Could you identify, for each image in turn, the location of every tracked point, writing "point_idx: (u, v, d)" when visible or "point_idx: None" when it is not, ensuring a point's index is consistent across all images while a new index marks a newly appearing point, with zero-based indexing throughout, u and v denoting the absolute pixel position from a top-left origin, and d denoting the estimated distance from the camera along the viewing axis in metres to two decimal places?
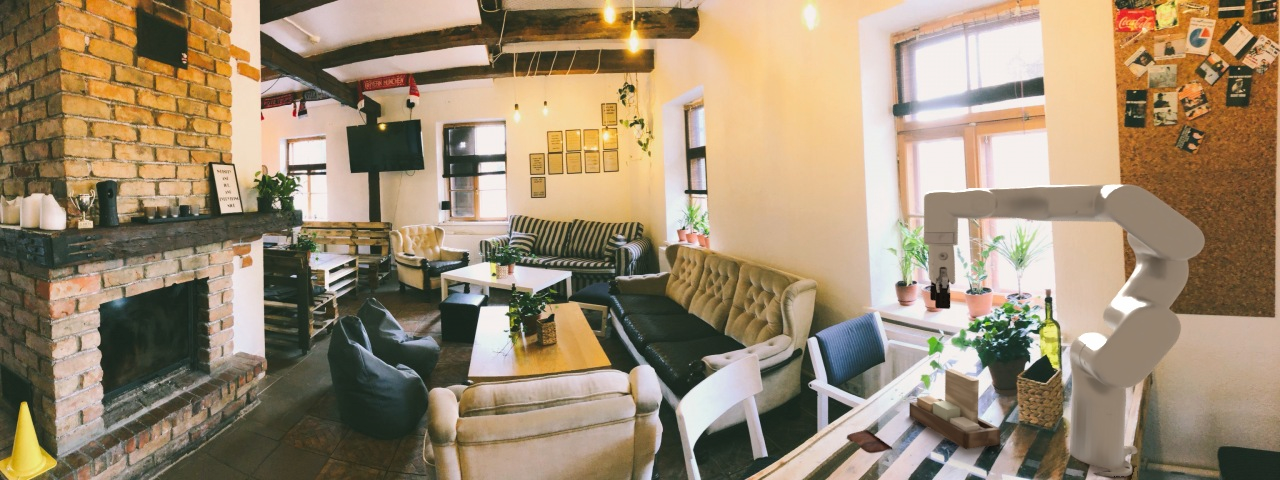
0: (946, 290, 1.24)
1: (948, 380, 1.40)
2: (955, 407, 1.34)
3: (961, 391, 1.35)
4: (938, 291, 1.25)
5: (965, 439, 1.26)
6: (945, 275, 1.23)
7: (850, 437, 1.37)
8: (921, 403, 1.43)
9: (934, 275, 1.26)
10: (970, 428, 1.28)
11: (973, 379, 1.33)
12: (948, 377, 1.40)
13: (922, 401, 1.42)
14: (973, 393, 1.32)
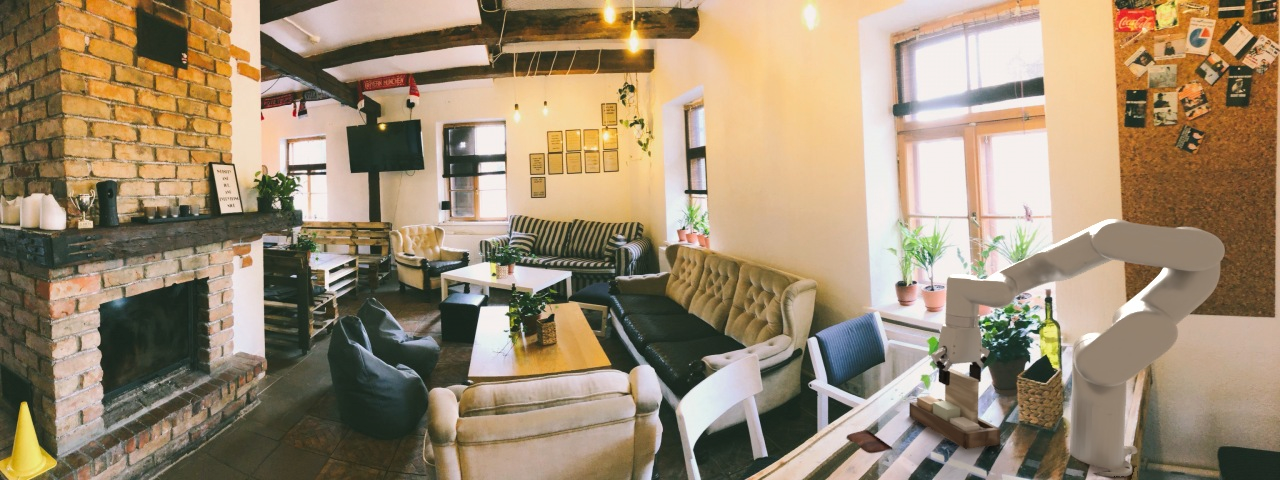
0: None
1: None
2: (955, 407, 1.34)
3: (961, 391, 1.35)
4: None
5: (965, 439, 1.26)
6: (984, 348, 1.37)
7: (850, 437, 1.37)
8: (921, 403, 1.43)
9: (981, 353, 1.35)
10: (970, 428, 1.28)
11: (973, 379, 1.33)
12: None
13: (922, 401, 1.42)
14: (973, 393, 1.32)
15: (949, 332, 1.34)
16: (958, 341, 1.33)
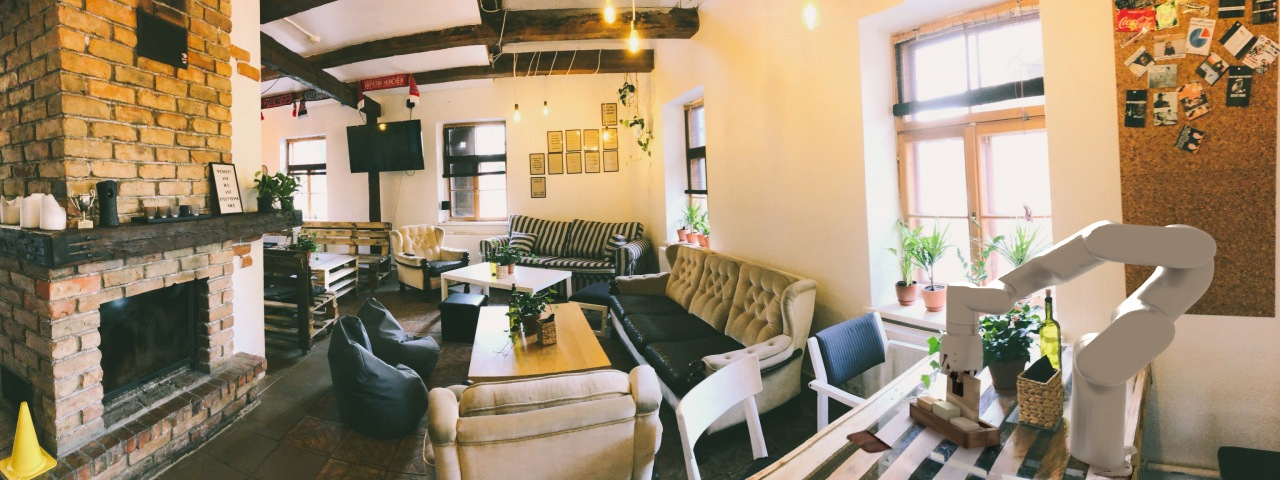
0: None
1: (950, 379, 1.39)
2: (955, 407, 1.34)
3: (963, 390, 1.35)
4: None
5: (965, 439, 1.26)
6: None
7: (850, 437, 1.37)
8: (921, 403, 1.43)
9: (982, 360, 1.35)
10: (970, 428, 1.28)
11: (975, 379, 1.32)
12: None
13: (922, 401, 1.42)
14: (975, 393, 1.32)
15: (950, 340, 1.34)
16: (959, 349, 1.33)
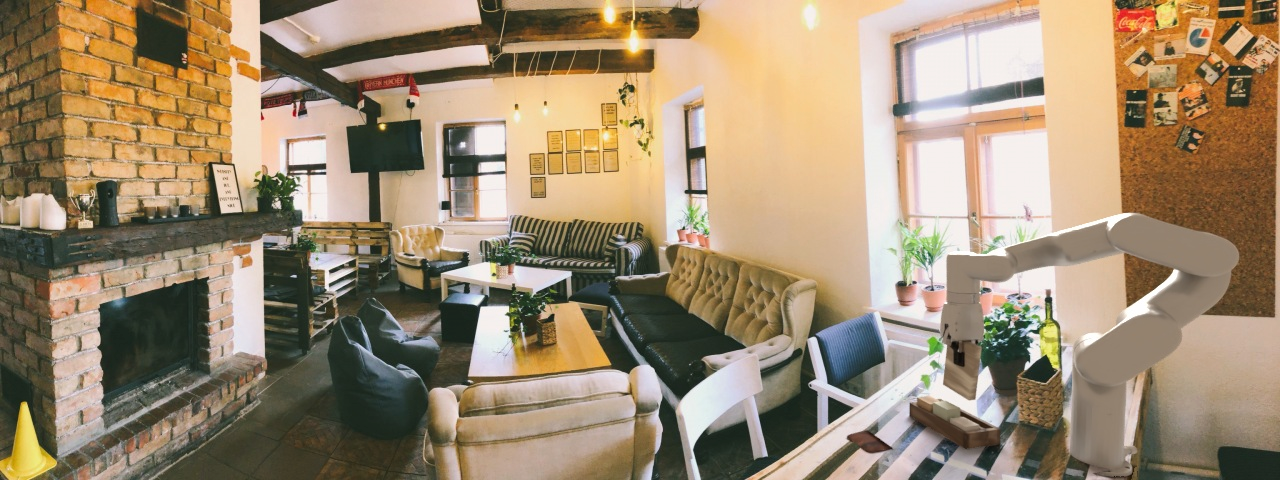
0: None
1: None
2: (955, 407, 1.34)
3: None
4: None
5: (965, 439, 1.26)
6: None
7: (850, 437, 1.37)
8: (921, 403, 1.43)
9: None
10: (970, 428, 1.28)
11: (976, 346, 1.31)
12: None
13: (922, 401, 1.42)
14: (975, 360, 1.31)
15: (950, 309, 1.33)
16: (960, 318, 1.32)
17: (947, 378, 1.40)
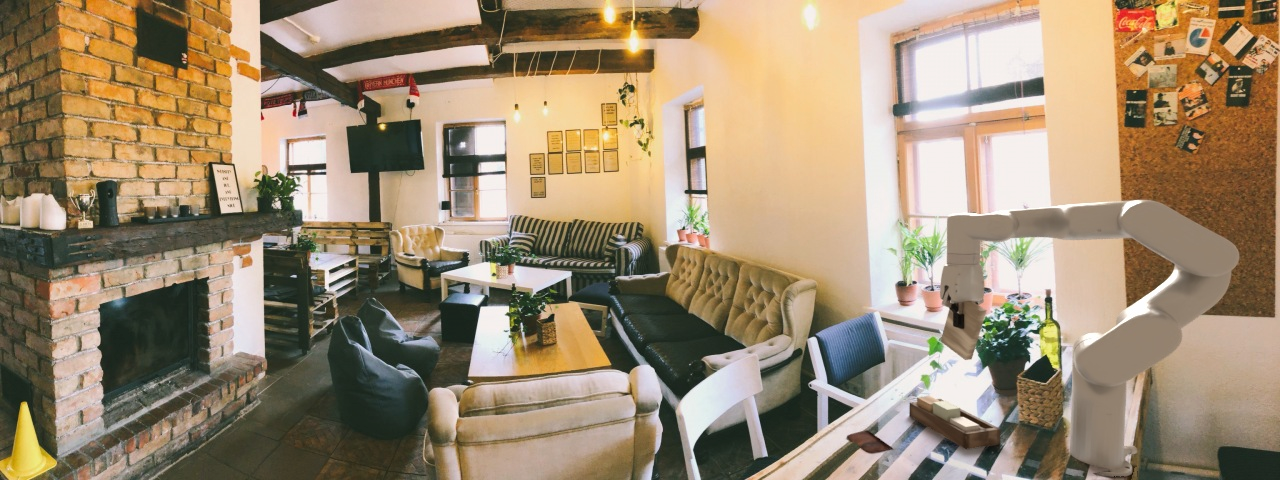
0: None
1: None
2: (955, 407, 1.34)
3: (965, 318, 1.33)
4: None
5: (965, 439, 1.26)
6: None
7: (850, 437, 1.37)
8: (921, 403, 1.43)
9: None
10: (970, 428, 1.28)
11: (981, 309, 1.29)
12: None
13: (922, 401, 1.42)
14: (978, 322, 1.29)
15: (951, 271, 1.32)
16: (960, 279, 1.31)
17: (946, 336, 1.40)
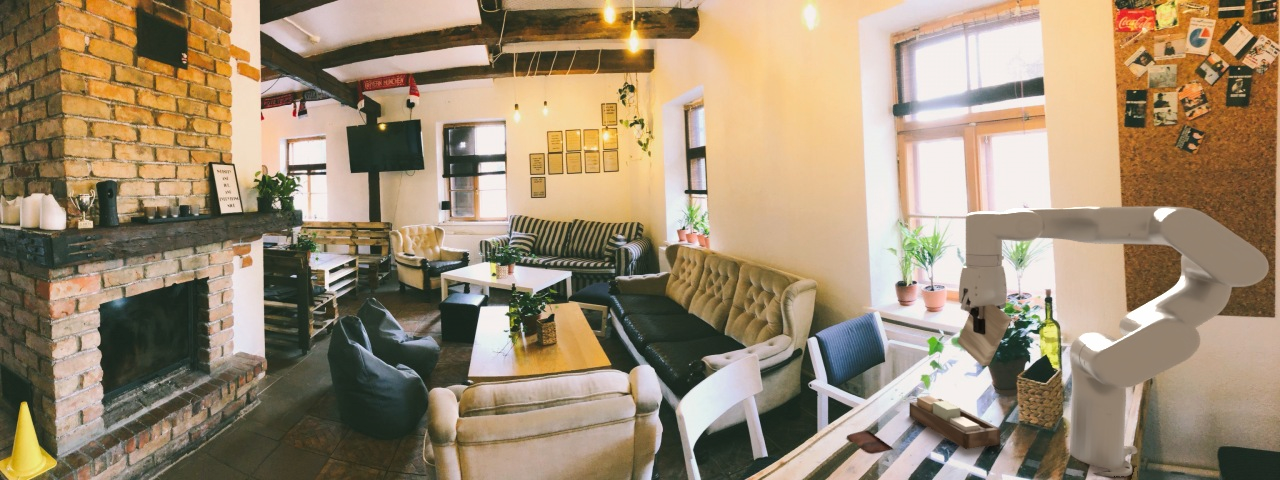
0: None
1: None
2: (955, 407, 1.34)
3: (987, 323, 1.25)
4: None
5: (965, 439, 1.26)
6: None
7: (850, 437, 1.37)
8: (921, 403, 1.43)
9: (1006, 295, 1.25)
10: (970, 428, 1.28)
11: (1006, 316, 1.21)
12: None
13: (922, 401, 1.42)
14: (1000, 330, 1.22)
15: (970, 273, 1.24)
16: (980, 282, 1.24)
17: (964, 338, 1.32)
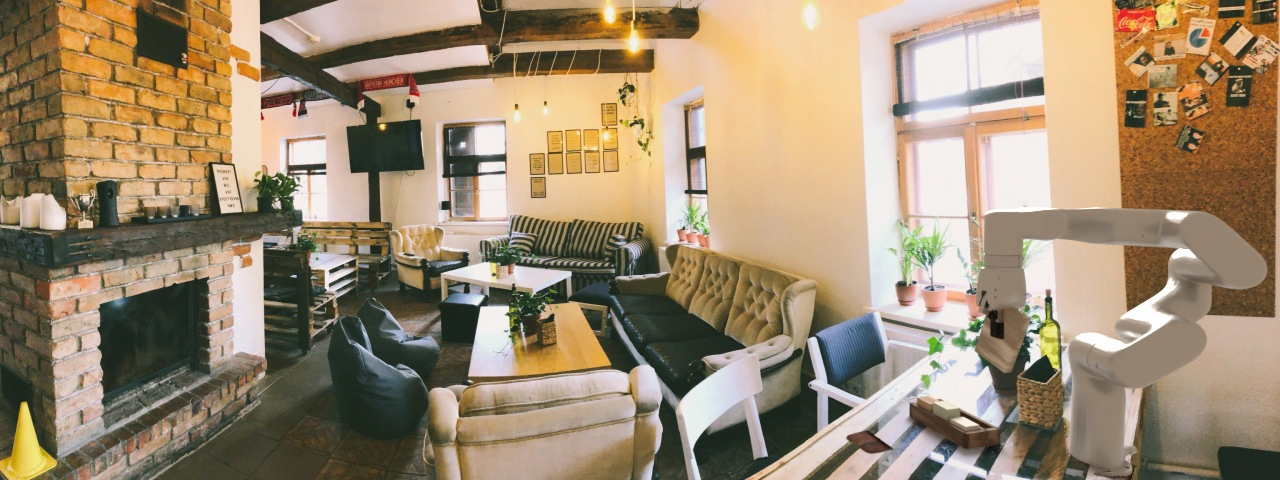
0: None
1: None
2: (955, 407, 1.34)
3: (1006, 326, 1.18)
4: None
5: (965, 439, 1.26)
6: None
7: (850, 438, 1.37)
8: (921, 403, 1.43)
9: None
10: (970, 428, 1.28)
11: (1025, 316, 1.15)
12: None
13: (922, 401, 1.42)
14: (1021, 331, 1.15)
15: (989, 274, 1.18)
16: (1000, 284, 1.17)
17: (982, 345, 1.25)
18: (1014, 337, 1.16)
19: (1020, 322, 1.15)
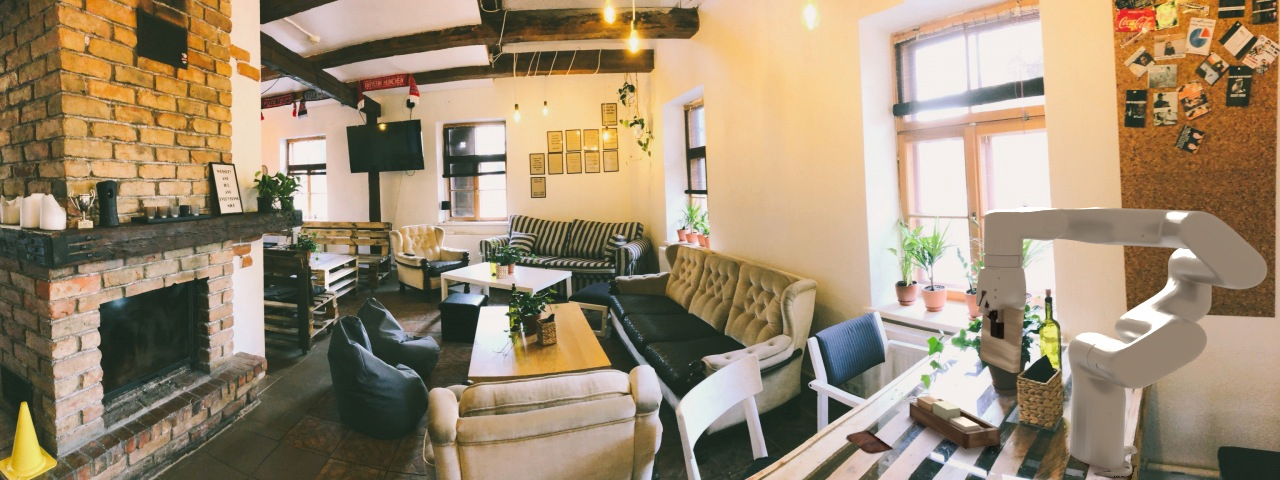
0: None
1: None
2: (955, 407, 1.34)
3: None
4: None
5: (965, 439, 1.26)
6: None
7: (849, 437, 1.36)
8: (921, 403, 1.43)
9: None
10: (970, 428, 1.28)
11: (1018, 309, 1.16)
12: None
13: (922, 401, 1.42)
14: (1017, 325, 1.16)
15: (989, 274, 1.18)
16: (1000, 284, 1.17)
17: (985, 351, 1.24)
18: (1012, 332, 1.17)
19: (1014, 315, 1.16)
